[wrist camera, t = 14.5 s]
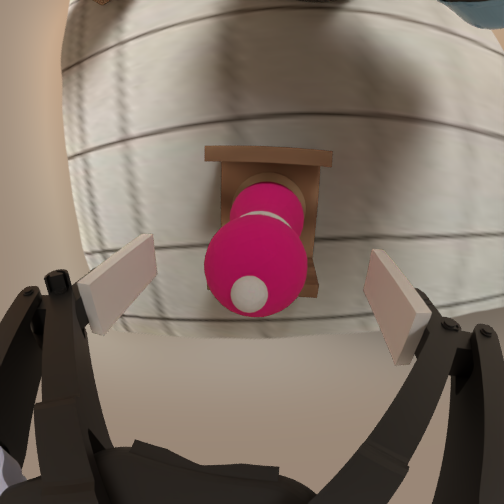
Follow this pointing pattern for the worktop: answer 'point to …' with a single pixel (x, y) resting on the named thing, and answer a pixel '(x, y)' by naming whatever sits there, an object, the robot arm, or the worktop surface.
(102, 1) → the wooden block
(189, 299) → the worktop surface
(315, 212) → the holder
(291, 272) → the pepper mill
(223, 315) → the worktop surface
